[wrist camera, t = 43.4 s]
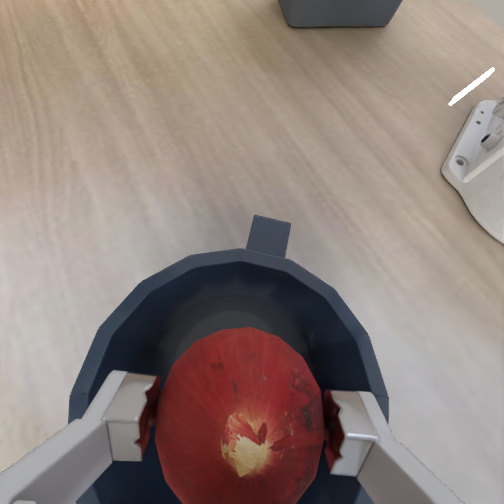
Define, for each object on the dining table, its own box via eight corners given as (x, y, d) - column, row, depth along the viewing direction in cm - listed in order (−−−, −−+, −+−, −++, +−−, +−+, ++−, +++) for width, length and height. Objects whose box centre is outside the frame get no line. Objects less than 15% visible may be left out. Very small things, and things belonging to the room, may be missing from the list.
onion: (288, 332, 14) (361, 309, 7) (298, 460, 12) (422, 634, 5) (179, 335, 13) (127, 314, 6) (170, 472, 11) (76, 696, 4)
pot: (332, 280, 24) (391, 240, 15) (303, 563, 17) (384, 794, 8) (184, 245, 24) (158, 185, 15) (91, 514, 17) (-58, 690, 8)
